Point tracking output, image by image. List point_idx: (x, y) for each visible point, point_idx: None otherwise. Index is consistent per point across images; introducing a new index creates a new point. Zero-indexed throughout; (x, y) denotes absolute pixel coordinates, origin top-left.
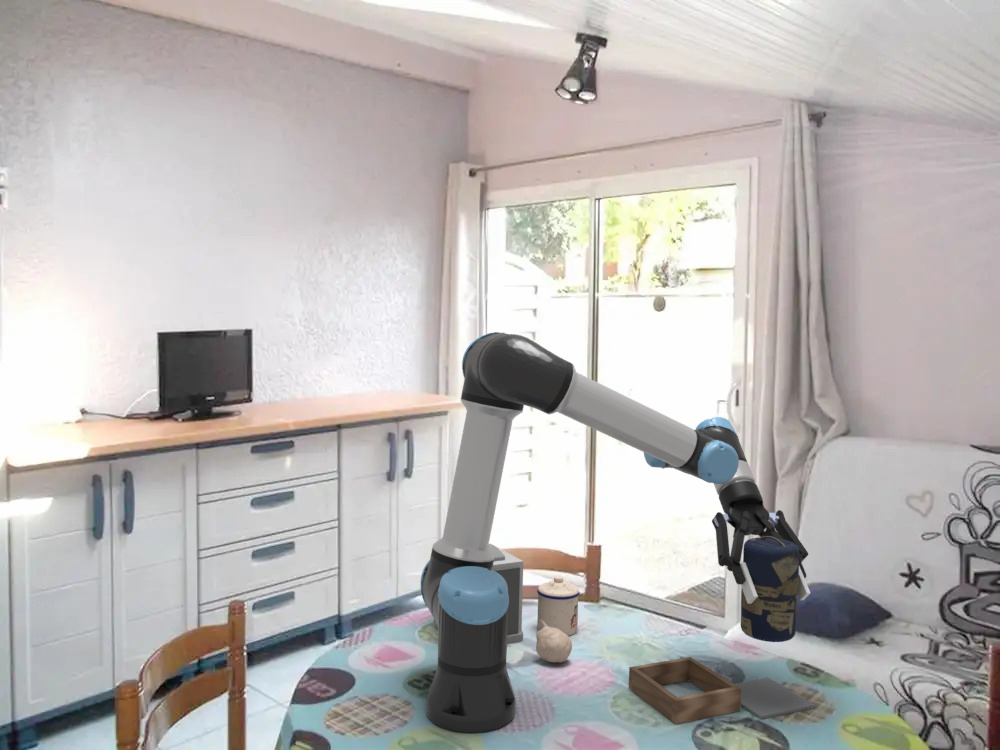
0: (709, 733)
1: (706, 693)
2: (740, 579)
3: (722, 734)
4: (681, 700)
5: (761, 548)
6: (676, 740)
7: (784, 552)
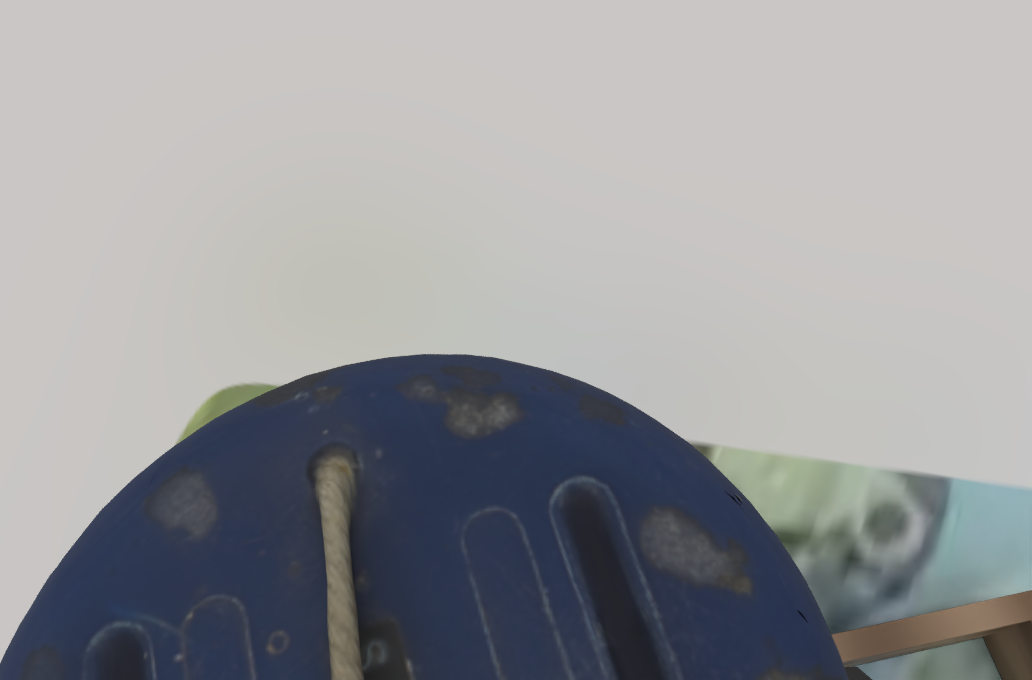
0: (872, 521)
1: (884, 637)
2: (863, 674)
3: (825, 507)
4: (1015, 595)
5: (723, 495)
6: (1009, 492)
7: (440, 354)
